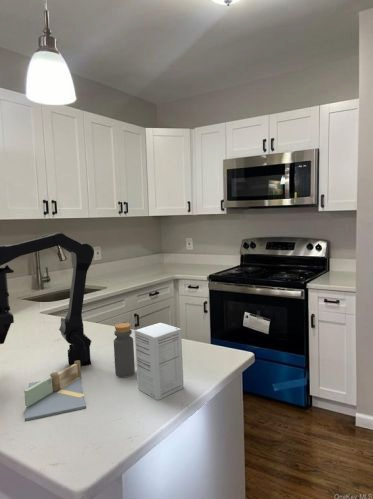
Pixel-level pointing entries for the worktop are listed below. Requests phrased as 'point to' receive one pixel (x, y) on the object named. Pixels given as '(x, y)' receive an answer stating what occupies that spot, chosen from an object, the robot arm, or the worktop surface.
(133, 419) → the worktop surface
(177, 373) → the supplement box
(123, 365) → the bottle
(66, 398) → the board
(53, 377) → the wooden wall with posts
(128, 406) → the worktop surface
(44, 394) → the fence panel
